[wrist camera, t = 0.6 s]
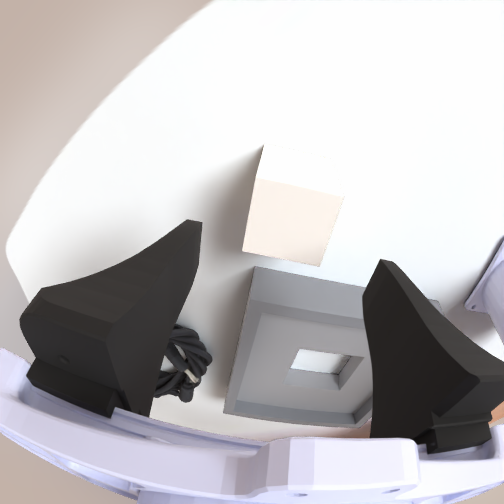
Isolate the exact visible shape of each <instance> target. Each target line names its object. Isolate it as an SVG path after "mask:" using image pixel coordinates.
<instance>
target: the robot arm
mask: <svg viewBox="0 0 504 504" xmlns="http://www.w3.org/2000/svg"><path fill="white" fill-rule="evenodd" d="M201 232H202V222H198V221H193V220H186V221H184V222H183V223H181V224H180V225H179V226H177V227H176V228H175V229H173V230H172V231H171V232H169V233H168V234H166V235H165V236H164V237H162V238H161V239H159V240H158V241H157V242H155V243H154V244H152V245H151V246H149V247H147V248H146V249H144V250H143V251H141V252H140V253H138V254H136V255H134V256H133V257H131V258H129V259H127V260H125V261H123V262H121V263H119V264H117V265H115V266H112V267H110V268H107V269H105V270H103V271H100V272H98V273H95V274H93V275H90V276H87V277H84V278H81V279H77V280H74V281H71V282H67V283H63V284H58V285H54V286H49V287H44V288H41V290H40V291H39V292H38V293H37V295H36V296H35V297H34V299H33V300H32V301H31V303H30V304H29V306H28V307H27V308H26V309H25V311H24V312H23V313H22V315H21V317H20V328H21V330H22V333H23V335H24V337H25V339H26V341H27V343H28V345H29V346H30V348H31V350H32V352H33V353H34V355H35V357H36V359H35V360H34V362H33V364H32V365H31V364H30V363H29V362H27V360H25V359H24V358H22V357H20V356H18V355H16V354H14V353H12V352H10V351H9V350H7V349H5V348H0V432H1V433H2V434H3V435H4V436H6V437H7V438H9V439H11V440H12V441H14V442H15V443H17V444H19V445H20V446H22V447H23V448H25V449H27V450H29V451H30V452H32V453H34V454H35V455H37V456H39V457H41V458H42V459H44V460H46V461H48V462H50V463H52V464H53V465H56V466H58V467H59V468H61V469H63V470H65V471H67V472H69V473H71V474H73V475H75V476H77V477H80V478H82V479H84V480H86V481H88V482H91V483H93V484H95V485H97V486H100V487H102V488H105V489H107V490H110V491H112V492H115V493H117V494H120V495H123V496H126V497H128V498H131V499H134V500H137V504H452V503H456V502H459V501H462V500H465V499H468V498H471V497H474V496H477V495H480V494H482V493H484V492H486V491H489V490H490V489H493V488H495V487H497V486H499V485H501V484H502V483H504V424H499V425H496V426H493V427H491V428H489V424H488V422H490V421H491V420H492V415H491V411H492V410H493V409H495V408H496V407H497V406H498V405H499V404H501V403H502V402H503V401H504V362H503V361H501V360H500V359H498V358H496V357H494V356H493V355H491V354H490V353H488V352H487V351H485V350H484V349H482V348H481V347H479V346H478V345H477V344H475V343H474V342H473V341H471V340H470V339H469V338H468V337H467V336H465V335H464V334H463V333H462V332H460V331H459V330H458V329H457V328H456V327H455V326H454V325H453V324H451V323H450V322H449V321H448V320H447V319H446V318H445V317H444V316H443V315H442V314H441V313H440V312H439V311H438V310H437V309H436V308H435V307H434V306H433V305H432V303H431V302H430V301H429V300H428V299H427V298H426V297H425V296H424V295H423V294H422V292H421V291H420V290H419V289H418V288H417V287H416V286H415V284H414V283H413V282H412V281H411V280H410V279H409V278H408V276H407V275H406V274H405V273H404V272H403V271H402V270H401V269H400V268H399V267H398V266H397V265H396V264H395V263H394V262H392V261H387V260H383V259H380V261H379V263H378V265H377V267H376V269H375V271H374V273H373V275H372V277H371V279H370V281H369V283H368V285H367V287H366V289H365V291H364V293H363V295H362V307H363V319H364V325H365V330H366V335H367V341H368V346H369V352H370V358H371V365H372V379H373V405H372V421H371V432H370V438H327V437H288V438H283V439H277V440H273V441H271V442H264V441H257V440H249V439H243V438H237V437H231V436H225V435H220V434H214V433H209V432H204V431H200V430H195V429H191V428H186V427H182V426H178V425H174V424H170V423H166V422H163V421H159V420H155V419H152V418H149V415H150V410H151V406H152V401H153V397H154V393H155V389H156V385H157V380H158V377H159V373H160V369H161V366H162V362H163V358H164V355H165V352H166V348H167V345H168V342H169V338H170V335H171V333H172V330H173V328H174V325H175V323H176V321H177V319H178V316H179V314H180V312H181V310H182V307H183V305H184V303H185V301H186V298H187V296H188V294H189V292H190V289H191V287H192V285H193V281H194V278H195V275H196V272H197V268H198V265H199V255H200V243H201ZM464 306H465V308H466V310H470V311H476V312H482V313H488V314H489V316H490V318H491V320H492V322H493V324H494V326H495V328H496V330H497V332H498V334H499V336H500V338H501V340H502V343H503V345H504V241H503V243H502V244H501V246H500V248H499V250H498V252H497V253H496V255H495V257H494V259H493V260H492V262H491V264H490V265H489V267H488V269H487V270H486V272H485V274H484V275H483V277H482V278H481V280H480V282H479V283H478V285H477V286H476V288H475V289H474V291H473V292H472V294H471V295H470V297H469V298H468V300H467V301H466V303H465V305H464Z"/></svg>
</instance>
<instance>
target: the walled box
mask: <svg viewBox="0 0 504 504" xmlns="http://www.w3.org/2000/svg"><path fill="white" fill-rule="evenodd" d="M365 289H366V288H364V287H359V286H354V285H348V284H343V283H338V282H333V281H327V280H322V279H317V278H312V277H307V276H302V275H297V274H291V273H286V272H281V271H276V270H271V269H266V268H261V267H256V266H255V269H254V274H253V278H252V282H251V287H250V291H249V296H248V300H247V305H246V309H245V314H244V318H243V323H242V327H241V331H240V336H239V340H238V345H237V349H236V353H235V358H234V362H233V367H232V371H231V375H230V380H229V384H228V389H227V394H226V400H225V405H224V410H223V413H225V414H230V415H236V416H242V417H248V418H254V419H261V420H268V421H275V422H283V423H292V424H302V425H313V426H326V427H345V428H360V427H361V426H362V425H363V424H365V423H366V422H367V421H368V420H369V419H370V418H371V417H372V405H373V379H372V365H371V358H370V352H369V346H368V341H367V335H366V330H365V325H364V319H363V307H362V295H363V293H364V291H365ZM428 300H429V299H428ZM429 301H430V302H431V303H432V305H433V306H434V307H435V308H436V309H437V310H438V311H439V312H440V313H441V314H442V315H443V316H444V314H443V312H442V309H441V307H440V305H439V302H438V301H435V300H429ZM299 349H306V350H313V351H320V352H327V353H334V354H342V355H350V356H351V357H350V359H349V360H348V362H347V363H346V365H345V366H344V368H343V369H342V371H341V372H340V373H339V375H336V374H327V373H319V372H311V371H304V370H297V369H290V367H291V365H292V363H293V361H294V359H295V357H296V355H297V353H298V351H299Z"/></svg>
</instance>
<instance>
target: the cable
mask: <svg viewBox="0 0 504 504" xmlns="http://www.w3.org/2000/svg"><path fill="white" fill-rule="evenodd" d="M174 344H176V345H178V346H180V347H181V348H182V349H183V351H184V353H185V355H186V357H187V358H186V360H185V361H184V359H183V357H182V356H181V354H180V353H179V351H178V349H177V348H176V346H175V345H174ZM165 356H166V357H167V358H168V360H169V361H170V362H171V363H172V364H173V365H174V366H175V367H176V368H177V369H178V370H179V371H178V372H176V373H173V374H170V373H167V372H163V371H160V373H159V377H158V380H157V385H156V389H155V393H154V397H155V398H159V397H160V396H164V395H167V394H171V395H174V396H178V397H179V398H180V400H181V401H183V402H185V403H187V402H190V401H191V400H192V398H193V392H194V388H195V387H197V386H198V385H199V384H200V382H201V376H203V375H204V374H205V373H206V371H207V366H209V365H210V364H211V362H212V357H211V355H210V354H209V353H207V352H206V348H205V346H204V344H203V343H202V342H201V341H199V336H198V334H197V333H196V332H195V331H193V330H191V329H183V328H182V327H181V326H179V325H177V324H175V325H174V328H173V330H172V333H171V335H170V338H169V342H168V345H167V348H166V352H165ZM178 390H180V391H178Z"/></svg>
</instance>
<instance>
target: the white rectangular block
mask: <svg viewBox="0 0 504 504" xmlns="http://www.w3.org/2000/svg"><path fill="white" fill-rule="evenodd" d="M343 199H344V195H343V192H342V190H341V187H340V184H339V181H338V179H337V176H336V173H335V171H334V168H333V165H332V163H331V160H330V159H329V158H325V157H321V156H316V155H312V154H308V153H304V152H299V151H295V150H290V149H286V148H281V147H276V146H271V145H266V144H265V145H264V148H263V152H262V156H261V159H260V163H259V167H258V171H257V174H256V178H255V184H254V189H253V194H252V200H251V205H250V210H249V216H248V221H247V226H246V232H245V237H244V243H243V248H242V251H244V252H249V253H254V254H259V255H264V256H269V257H274V258H279V259H284V260H289V261H294V262H299V263H304V264H309V265H314V266H319V267H320V264H321V261H322V259H323V256H324V253H325V250H326V248H327V245H328V242H329V239H330V237H331V234H332V231H333V228H334V225H335V222H336V219H337V216H338V214H339V211H340V208H341V205H342V202H343Z"/></svg>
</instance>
